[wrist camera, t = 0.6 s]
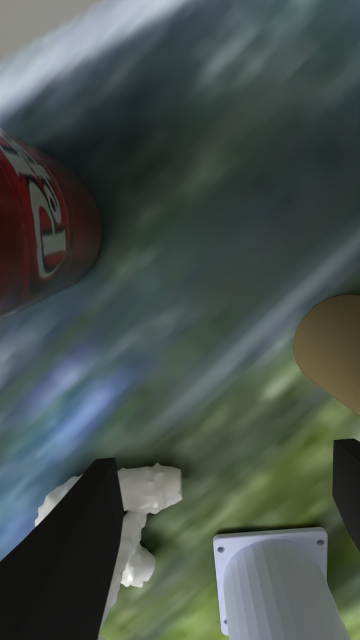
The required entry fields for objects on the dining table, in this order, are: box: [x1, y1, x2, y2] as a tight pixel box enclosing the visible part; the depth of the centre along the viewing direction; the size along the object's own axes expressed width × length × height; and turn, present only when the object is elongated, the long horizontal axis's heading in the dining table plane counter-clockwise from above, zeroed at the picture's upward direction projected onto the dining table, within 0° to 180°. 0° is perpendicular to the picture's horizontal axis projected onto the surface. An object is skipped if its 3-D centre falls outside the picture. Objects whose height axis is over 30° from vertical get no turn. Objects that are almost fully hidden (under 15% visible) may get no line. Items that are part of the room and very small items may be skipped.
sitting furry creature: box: [35, 463, 182, 640], centre depth 17 cm, size 10×9×12 cm
